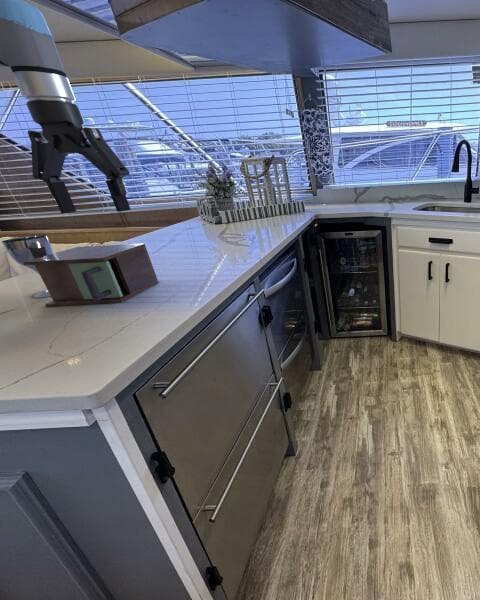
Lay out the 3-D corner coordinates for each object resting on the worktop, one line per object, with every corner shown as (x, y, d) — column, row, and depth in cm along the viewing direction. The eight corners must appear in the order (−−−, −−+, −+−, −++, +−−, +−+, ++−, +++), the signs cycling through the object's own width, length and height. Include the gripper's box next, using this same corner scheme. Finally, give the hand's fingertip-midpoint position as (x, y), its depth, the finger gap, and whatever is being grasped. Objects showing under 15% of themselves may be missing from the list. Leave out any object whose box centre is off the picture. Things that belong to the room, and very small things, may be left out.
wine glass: (25, 296, 86) (-5, 241, 80) (62, 286, 93) (37, 234, 87) (40, 299, 83) (10, 243, 77) (78, 289, 90) (53, 235, 84)
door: (68, 306, 75) (49, 269, 72) (86, 298, 80) (70, 262, 76) (107, 304, 76) (90, 267, 72) (123, 296, 80) (108, 260, 77)
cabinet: (46, 306, 79) (22, 262, 74) (94, 285, 92) (76, 246, 88) (121, 302, 80) (103, 257, 75) (158, 282, 93) (144, 243, 88)
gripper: (125, 101, 66) (160, 207, 74) (18, 108, 68) (63, 210, 77) (90, 94, 59) (133, 212, 67) (-28, 102, 61) (27, 215, 70)
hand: (96, 211), depth 72 cm, fingers open, 13 cm apart
